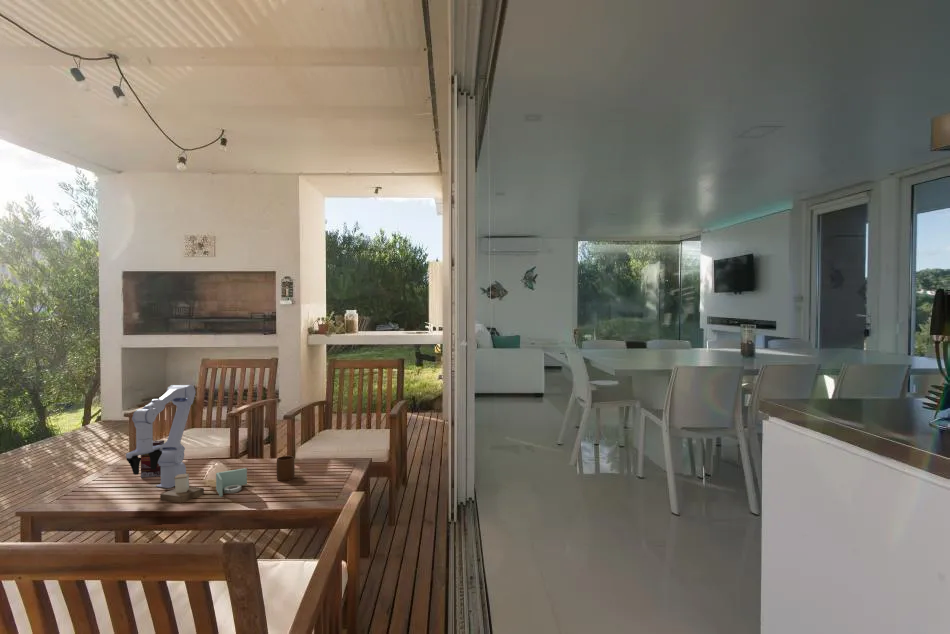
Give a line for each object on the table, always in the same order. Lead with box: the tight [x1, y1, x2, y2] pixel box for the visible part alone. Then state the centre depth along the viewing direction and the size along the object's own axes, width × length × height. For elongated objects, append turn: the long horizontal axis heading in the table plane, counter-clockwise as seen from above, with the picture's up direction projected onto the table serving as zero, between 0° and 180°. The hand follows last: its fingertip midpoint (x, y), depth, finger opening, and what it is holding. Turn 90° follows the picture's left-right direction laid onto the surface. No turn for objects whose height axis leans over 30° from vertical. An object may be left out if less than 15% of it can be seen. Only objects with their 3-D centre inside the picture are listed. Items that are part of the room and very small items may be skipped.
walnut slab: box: [159, 485, 205, 504], centre depth 214 cm, size 11×11×3 cm
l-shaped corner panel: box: [215, 467, 248, 498], centre depth 221 cm, size 12×12×8 cm
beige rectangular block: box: [174, 473, 190, 493], centre depth 214 cm, size 4×4×6 cm
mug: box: [276, 454, 296, 482], centre depth 238 cm, size 12×8×9 cm, turn 3°
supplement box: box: [140, 439, 165, 478], centre depth 245 cm, size 9×5×16 cm, turn 100°
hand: (144, 471), depth 214 cm, fingers open, 7 cm apart
